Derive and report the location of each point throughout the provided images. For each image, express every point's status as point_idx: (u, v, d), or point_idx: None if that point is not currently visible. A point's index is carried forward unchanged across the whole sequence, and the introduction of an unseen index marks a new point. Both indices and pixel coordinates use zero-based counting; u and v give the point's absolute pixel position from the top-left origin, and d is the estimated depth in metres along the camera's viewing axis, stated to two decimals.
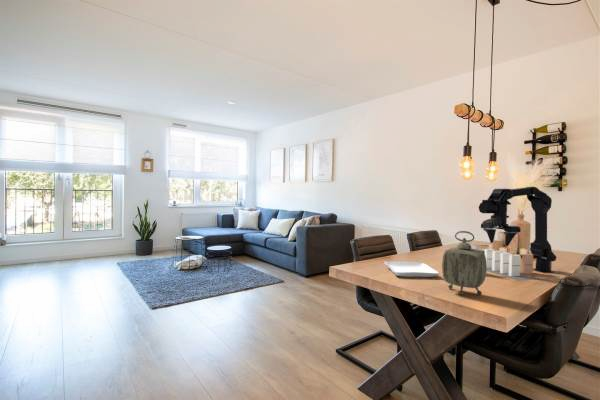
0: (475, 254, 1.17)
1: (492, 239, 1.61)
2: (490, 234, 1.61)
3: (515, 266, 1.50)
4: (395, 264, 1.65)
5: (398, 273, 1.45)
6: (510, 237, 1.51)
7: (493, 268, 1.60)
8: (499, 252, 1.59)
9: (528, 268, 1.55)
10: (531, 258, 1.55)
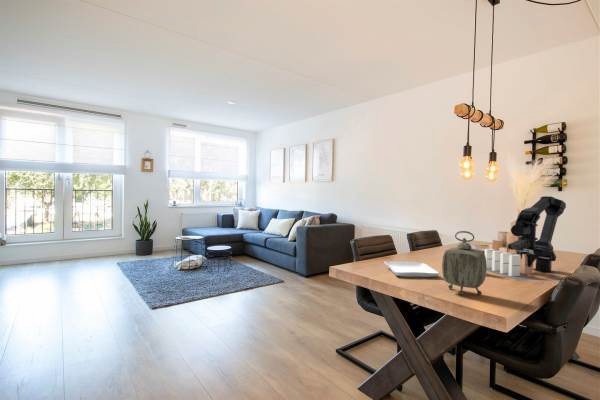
0: (475, 254, 1.17)
1: None
2: None
3: (515, 266, 1.50)
4: (395, 264, 1.65)
5: (398, 273, 1.45)
6: (532, 258, 1.54)
7: (493, 268, 1.60)
8: (499, 252, 1.59)
9: (528, 268, 1.55)
10: None
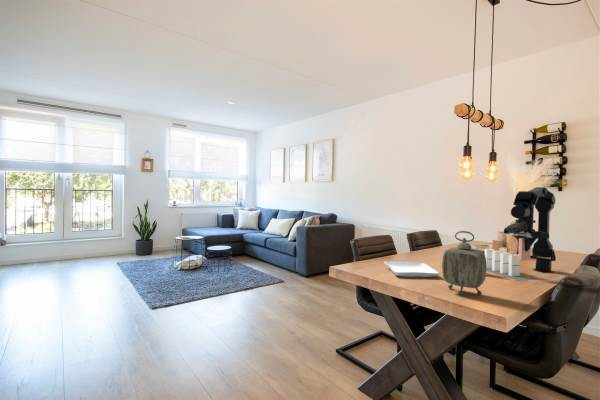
0: (475, 254, 1.17)
1: None
2: None
3: (515, 265, 1.50)
4: (395, 264, 1.65)
5: (398, 273, 1.45)
6: (530, 242, 1.44)
7: (493, 268, 1.60)
8: (499, 252, 1.59)
9: (525, 253, 1.45)
10: None
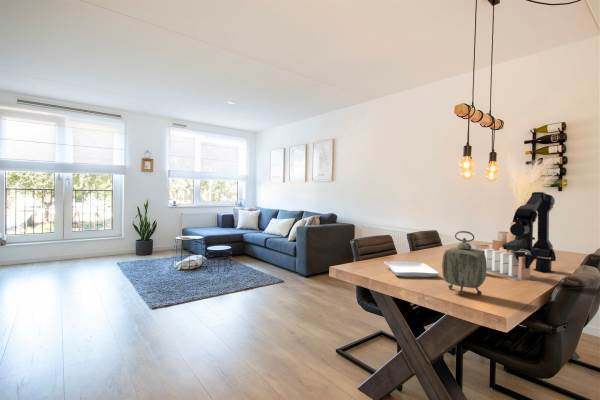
0: (475, 254, 1.17)
1: None
2: None
3: (515, 266, 1.50)
4: (395, 264, 1.65)
5: (398, 273, 1.45)
6: (530, 259, 1.43)
7: (493, 268, 1.60)
8: (499, 252, 1.59)
9: (525, 272, 1.45)
10: None
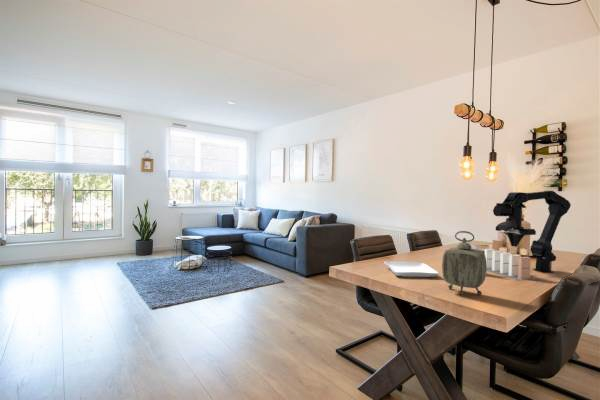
0: (475, 254, 1.17)
1: (513, 242, 1.62)
2: (511, 237, 1.62)
3: (515, 266, 1.50)
4: (395, 264, 1.65)
5: (398, 273, 1.45)
6: (518, 238, 1.59)
7: (493, 268, 1.60)
8: (499, 252, 1.59)
9: (525, 272, 1.45)
10: (528, 261, 1.45)
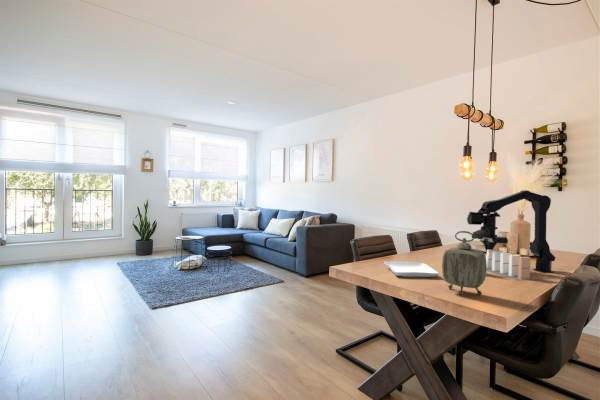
0: (475, 254, 1.17)
1: None
2: None
3: (515, 266, 1.50)
4: (395, 264, 1.65)
5: (398, 273, 1.45)
6: (491, 246, 1.65)
7: (493, 268, 1.60)
8: (499, 252, 1.59)
9: (525, 272, 1.45)
10: (528, 261, 1.45)
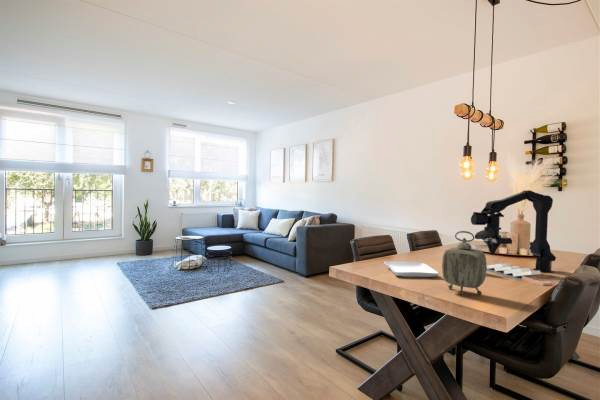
0: (475, 254, 1.17)
1: None
2: (490, 246, 1.64)
3: None
4: (395, 264, 1.65)
5: (398, 273, 1.45)
6: (495, 247, 1.62)
7: (496, 269, 1.58)
8: None
9: None
10: None
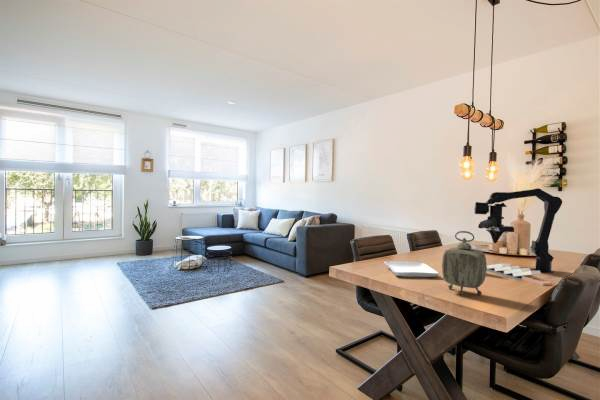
0: (475, 254, 1.17)
1: None
2: (493, 235, 1.72)
3: None
4: (395, 264, 1.65)
5: (398, 273, 1.45)
6: (498, 235, 1.70)
7: (496, 269, 1.58)
8: None
9: None
10: None
